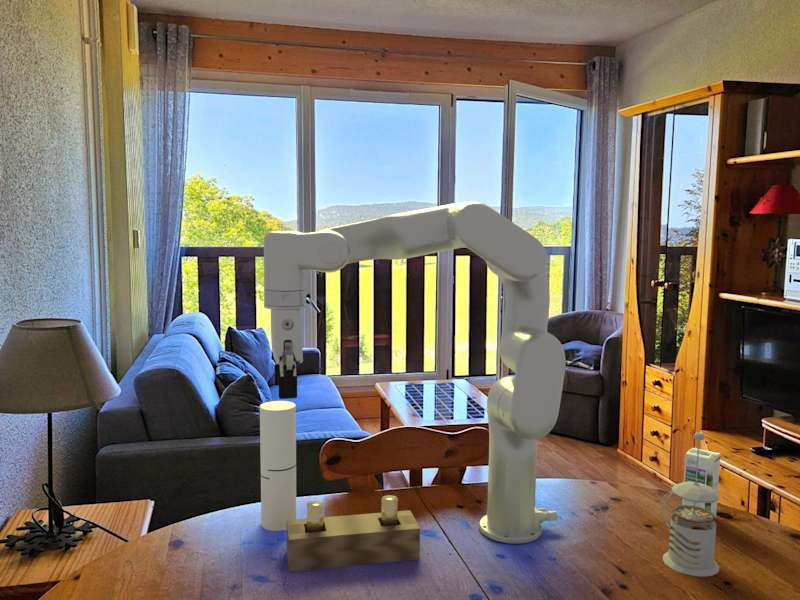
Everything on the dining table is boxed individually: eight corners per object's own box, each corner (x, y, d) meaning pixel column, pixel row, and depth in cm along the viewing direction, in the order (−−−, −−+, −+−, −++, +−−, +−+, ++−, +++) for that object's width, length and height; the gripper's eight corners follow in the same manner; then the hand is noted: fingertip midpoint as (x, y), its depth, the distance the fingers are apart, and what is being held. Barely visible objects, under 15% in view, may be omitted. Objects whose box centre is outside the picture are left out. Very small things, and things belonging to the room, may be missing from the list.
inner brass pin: (395, 524, 132) (395, 494, 131) (398, 531, 129) (399, 501, 128) (380, 525, 131) (380, 495, 130) (382, 532, 128) (383, 502, 127)
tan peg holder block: (409, 539, 135) (410, 510, 135) (419, 559, 128) (420, 528, 127) (286, 550, 130) (286, 520, 130) (289, 571, 123) (288, 539, 122)
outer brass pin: (322, 530, 129) (322, 500, 128) (324, 538, 126) (324, 506, 125) (306, 532, 128) (306, 501, 127) (307, 539, 125) (307, 508, 124)
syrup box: (680, 518, 146) (684, 452, 145) (689, 509, 151) (693, 445, 149) (708, 526, 143) (713, 459, 141) (716, 517, 147) (721, 451, 145)
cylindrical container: (289, 532, 138) (288, 411, 134) (255, 529, 139) (254, 409, 136) (301, 517, 144) (300, 402, 141) (269, 514, 146) (268, 399, 143)
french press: (694, 581, 121) (703, 444, 118) (643, 552, 131) (650, 425, 128) (731, 568, 125) (741, 436, 122) (679, 541, 136) (687, 419, 133)
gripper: (311, 305, 117) (311, 402, 119) (300, 293, 134) (300, 379, 136) (267, 305, 115) (267, 405, 117) (261, 294, 132) (262, 381, 134)
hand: (285, 391), depth 126 cm, fingers open, 9 cm apart
